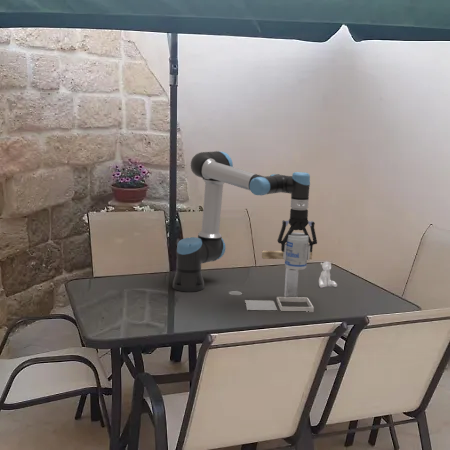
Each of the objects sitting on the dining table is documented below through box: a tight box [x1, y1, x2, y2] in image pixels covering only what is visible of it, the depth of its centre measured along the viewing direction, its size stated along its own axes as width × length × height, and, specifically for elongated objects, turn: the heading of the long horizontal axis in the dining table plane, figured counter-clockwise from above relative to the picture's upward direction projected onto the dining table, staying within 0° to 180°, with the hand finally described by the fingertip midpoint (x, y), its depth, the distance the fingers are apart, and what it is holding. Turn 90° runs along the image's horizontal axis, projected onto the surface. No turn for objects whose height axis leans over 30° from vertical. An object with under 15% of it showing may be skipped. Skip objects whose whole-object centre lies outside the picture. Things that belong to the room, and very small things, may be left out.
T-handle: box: [261, 250, 313, 260], centre depth 273 cm, size 22×3×8 cm, turn 94°
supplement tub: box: [284, 232, 310, 271], centre depth 261 cm, size 10×10×15 cm
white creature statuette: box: [318, 261, 338, 289], centre depth 299 cm, size 10×9×12 cm
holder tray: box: [276, 296, 315, 313], centre depth 265 cm, size 14×14×2 cm
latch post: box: [283, 267, 299, 297], centre depth 275 cm, size 5×5×14 cm
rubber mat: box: [244, 299, 278, 311], centre depth 264 cm, size 13×13×1 cm
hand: (296, 259), depth 261 cm, fingers closed on supplement tub, 10 cm apart
